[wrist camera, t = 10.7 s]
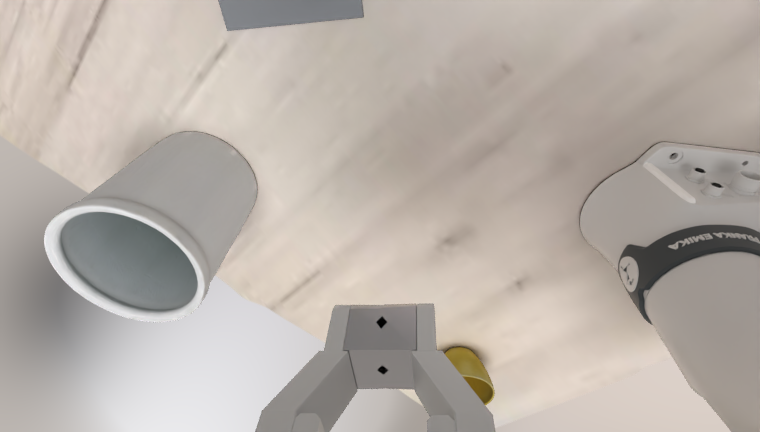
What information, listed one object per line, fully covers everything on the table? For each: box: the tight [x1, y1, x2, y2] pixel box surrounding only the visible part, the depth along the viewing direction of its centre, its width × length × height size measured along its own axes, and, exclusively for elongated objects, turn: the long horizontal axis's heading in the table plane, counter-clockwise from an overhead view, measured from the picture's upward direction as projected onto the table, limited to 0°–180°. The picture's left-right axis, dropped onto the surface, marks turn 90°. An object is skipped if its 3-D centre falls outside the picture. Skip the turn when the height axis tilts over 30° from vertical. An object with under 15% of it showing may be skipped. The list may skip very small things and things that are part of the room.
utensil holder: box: [44, 131, 257, 322], centre depth 45 cm, size 15×15×18 cm
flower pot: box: [445, 347, 495, 405], centre depth 67 cm, size 10×10×7 cm
